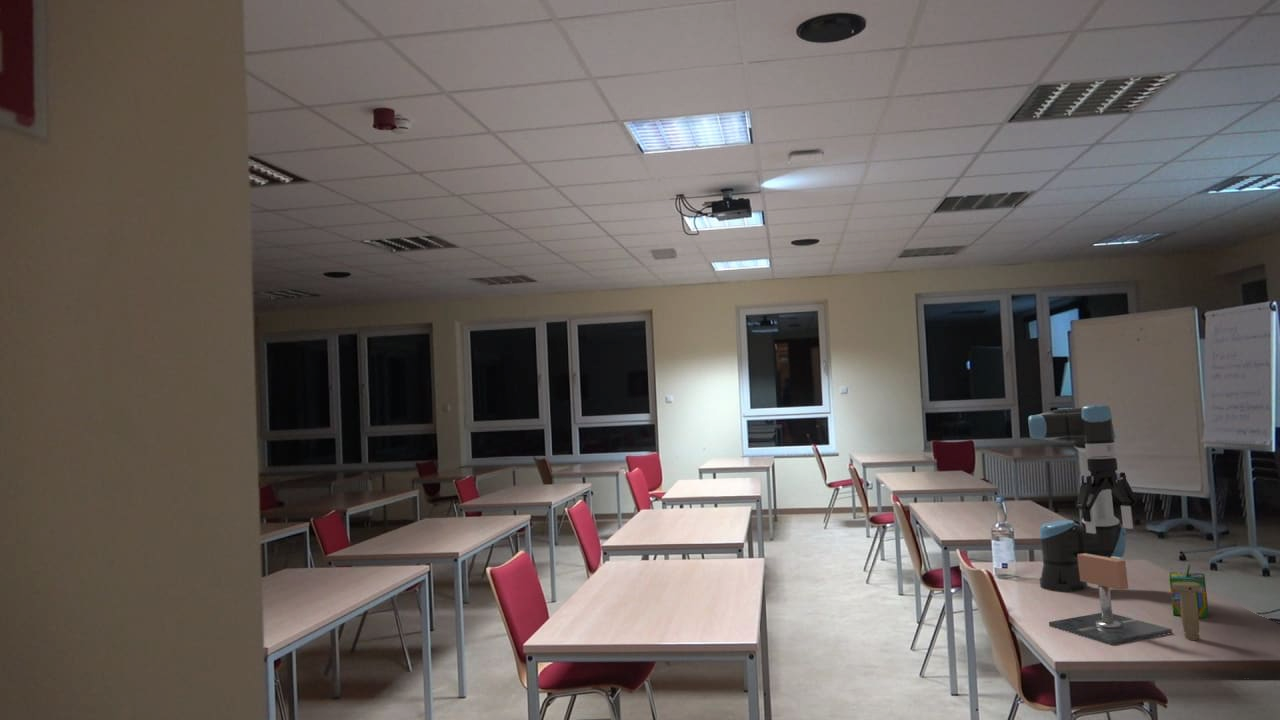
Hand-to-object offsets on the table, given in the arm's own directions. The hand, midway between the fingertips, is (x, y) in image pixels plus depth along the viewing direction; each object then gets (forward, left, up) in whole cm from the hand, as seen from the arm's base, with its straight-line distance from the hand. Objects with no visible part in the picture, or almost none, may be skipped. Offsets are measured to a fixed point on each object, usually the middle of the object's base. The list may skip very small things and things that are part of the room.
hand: (1109, 530), depth 226 cm
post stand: (0, -4, -29) cm, 30 cm away
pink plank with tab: (0, -4, -16) cm, 17 cm away
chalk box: (-33, -5, -30) cm, 45 cm away
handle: (-11, +13, -30) cm, 34 cm away
